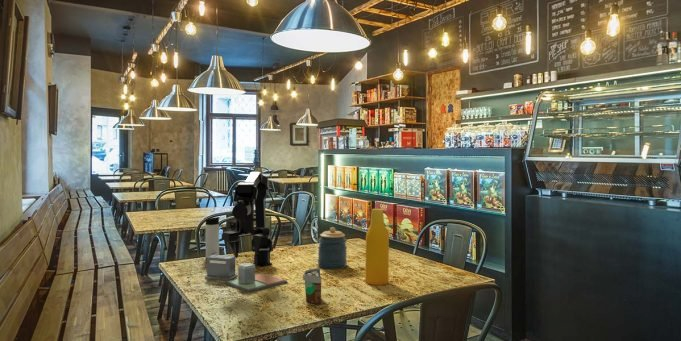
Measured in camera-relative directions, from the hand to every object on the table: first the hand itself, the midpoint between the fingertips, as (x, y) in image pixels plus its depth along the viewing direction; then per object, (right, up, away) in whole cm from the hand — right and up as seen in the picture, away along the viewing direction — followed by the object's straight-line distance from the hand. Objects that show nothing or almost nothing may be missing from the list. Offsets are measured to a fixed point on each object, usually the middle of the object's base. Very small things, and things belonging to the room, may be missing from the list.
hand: (246, 255), depth 179 cm
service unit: (-12, -11, +10) cm, 19 cm away
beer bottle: (+51, -12, +5) cm, 52 cm away
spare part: (0, -10, -1) cm, 10 cm away
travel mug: (-25, -10, +44) cm, 51 cm away
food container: (+26, -12, -19) cm, 34 cm away
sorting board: (+3, -11, +2) cm, 12 cm away
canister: (+33, -10, +31) cm, 46 cm away
